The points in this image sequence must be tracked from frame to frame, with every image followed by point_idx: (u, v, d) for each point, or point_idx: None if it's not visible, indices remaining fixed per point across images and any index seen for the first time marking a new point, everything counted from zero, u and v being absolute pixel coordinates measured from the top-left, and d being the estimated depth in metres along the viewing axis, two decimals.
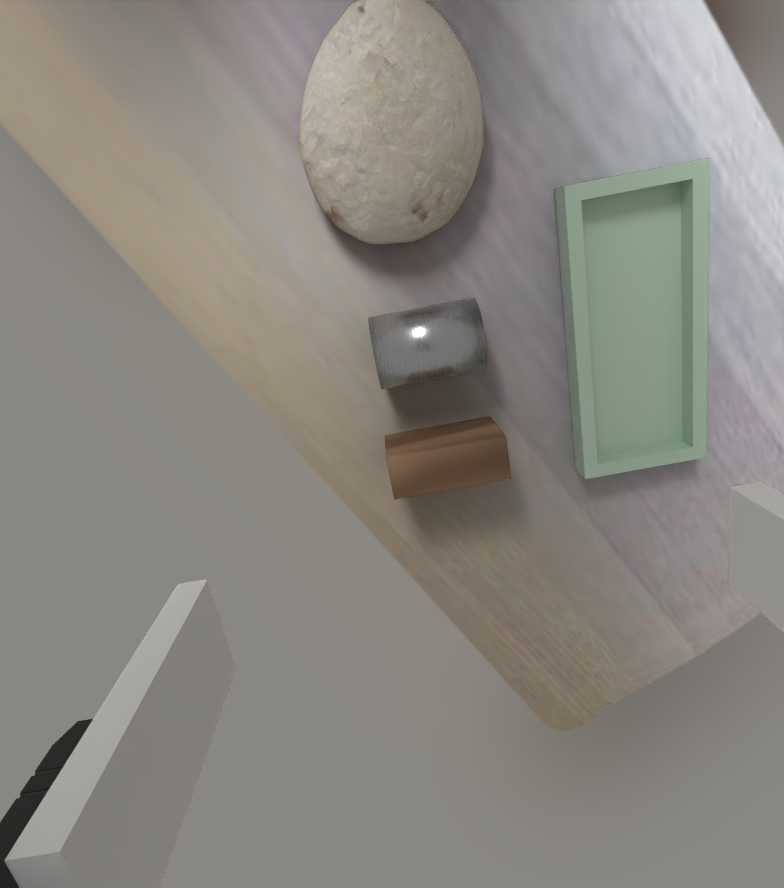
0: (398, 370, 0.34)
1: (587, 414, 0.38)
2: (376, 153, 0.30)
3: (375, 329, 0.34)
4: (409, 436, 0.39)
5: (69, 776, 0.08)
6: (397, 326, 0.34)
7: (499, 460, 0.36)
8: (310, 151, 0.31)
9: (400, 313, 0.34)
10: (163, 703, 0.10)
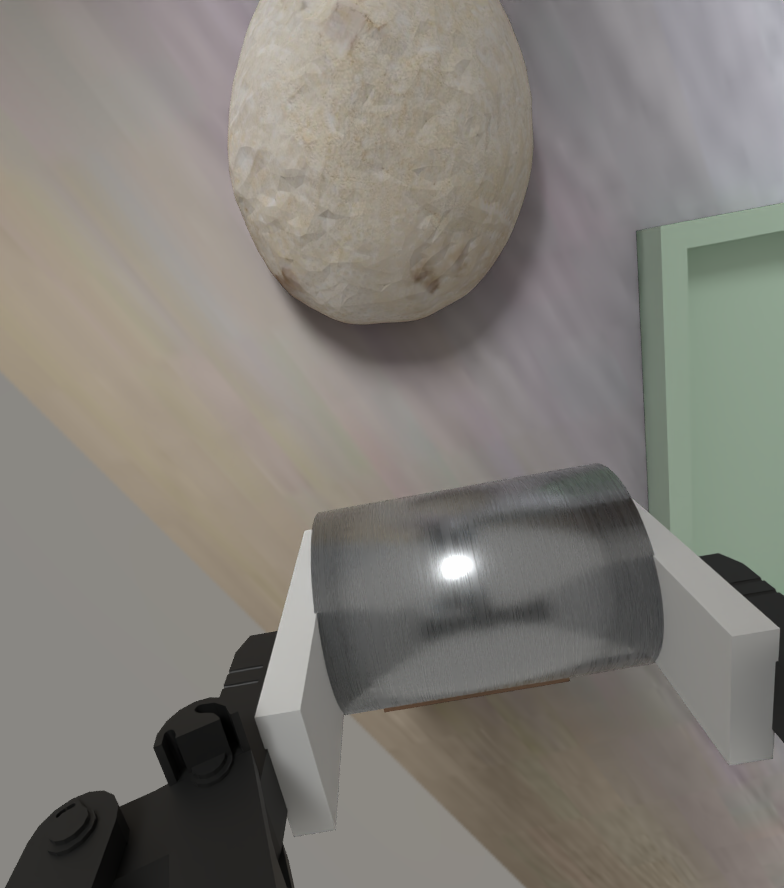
0: (396, 693, 0.11)
1: None
2: (351, 184, 0.17)
3: (328, 575, 0.11)
4: None
5: (280, 663, 0.10)
6: (393, 567, 0.11)
7: None
8: (243, 180, 0.18)
9: (403, 515, 0.12)
10: None
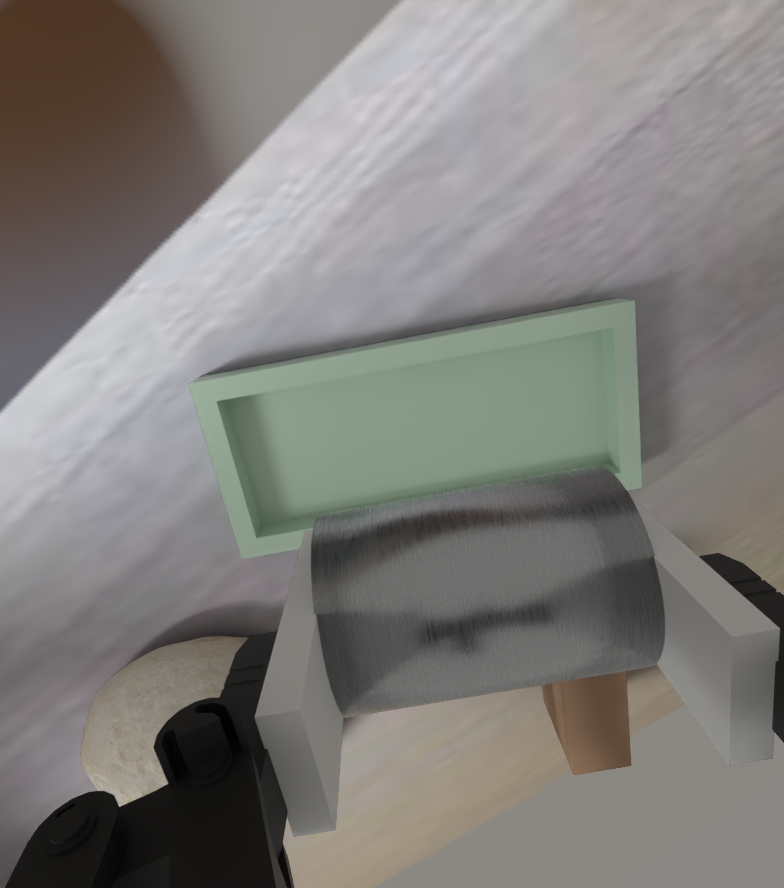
0: (396, 696, 0.11)
1: None
2: None
3: (328, 577, 0.11)
4: (548, 695, 0.31)
5: (280, 663, 0.10)
6: (394, 570, 0.11)
7: None
8: None
9: (403, 517, 0.12)
10: None
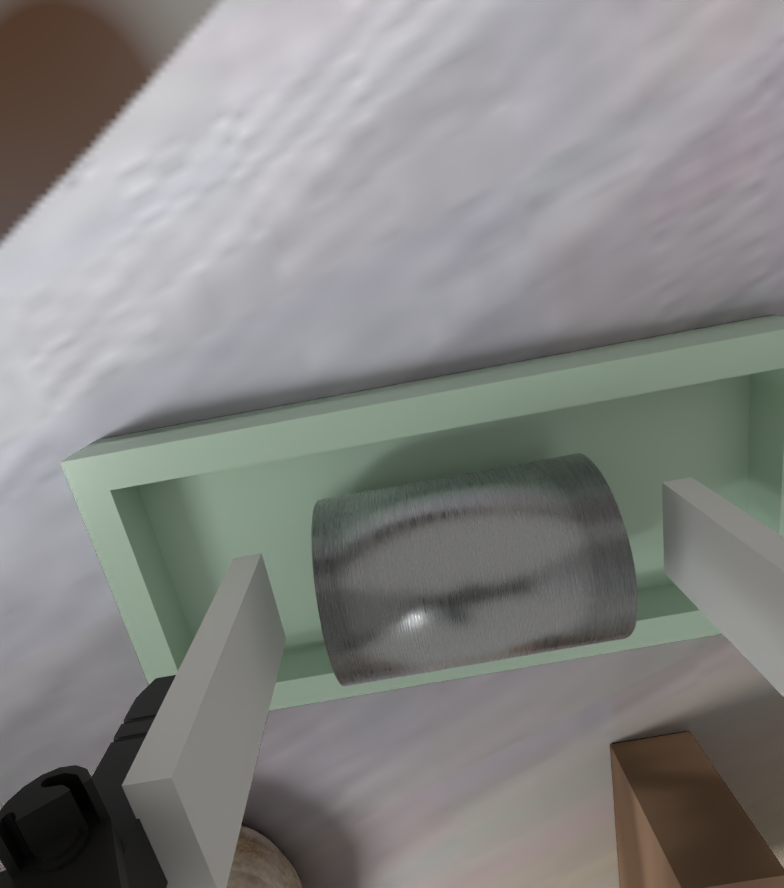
0: (391, 665, 0.12)
1: (644, 633, 0.16)
2: None
3: (327, 555, 0.12)
4: None
5: (166, 718, 0.09)
6: (388, 548, 0.12)
7: None
8: None
9: (397, 500, 0.13)
10: (235, 660, 0.11)
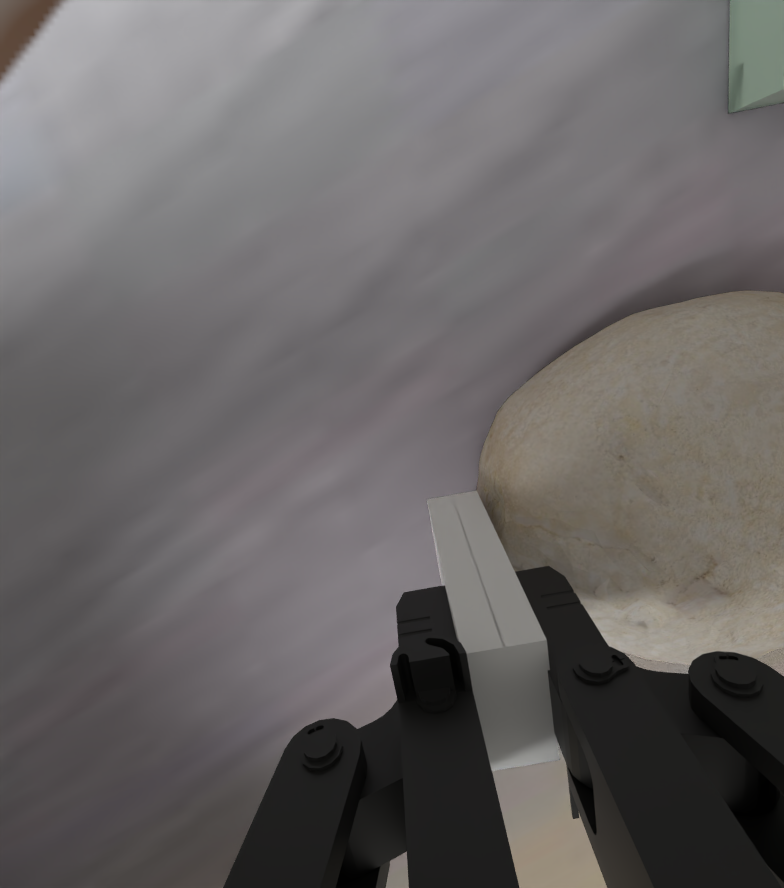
0: None
1: None
2: None
3: None
4: None
5: (464, 609, 0.10)
6: None
7: None
8: None
9: None
10: None
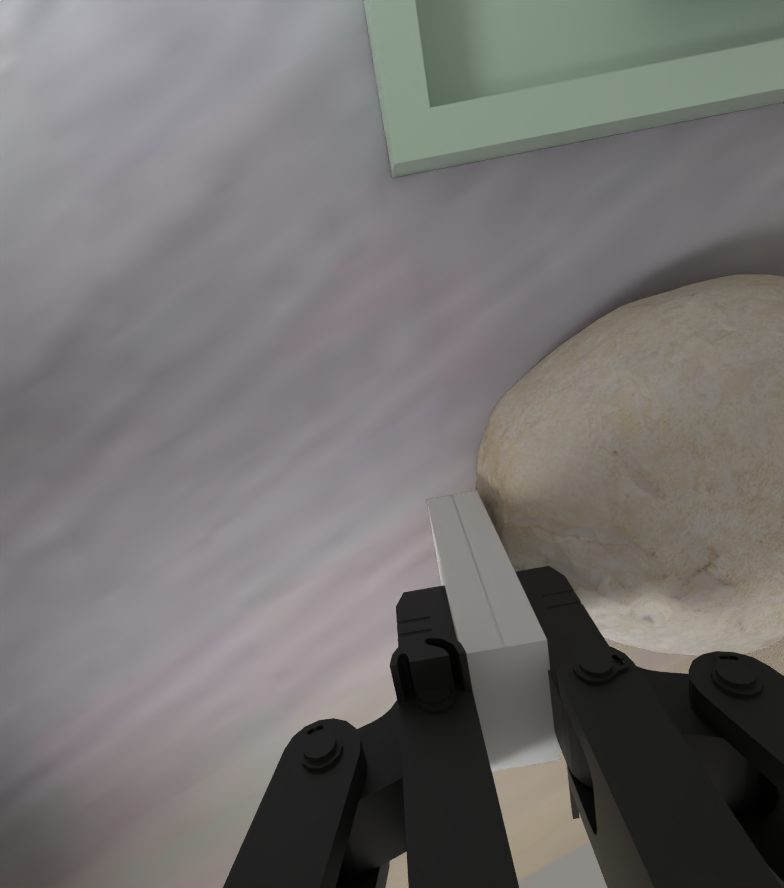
0: None
1: None
2: None
3: None
4: None
5: (464, 609, 0.10)
6: None
7: None
8: (765, 647, 0.15)
9: None
10: None
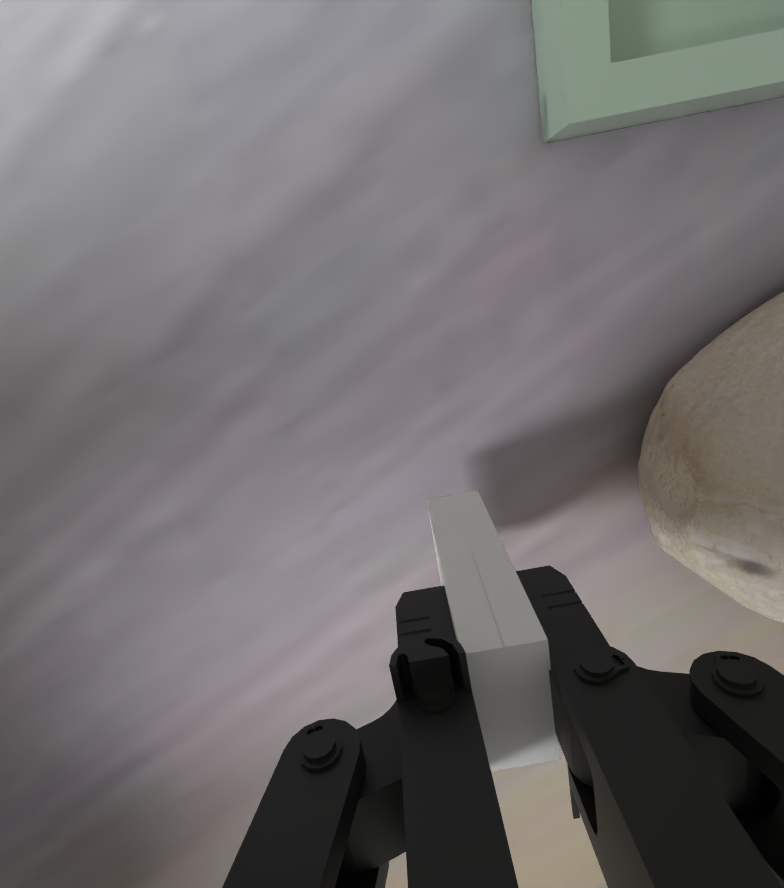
0: None
1: None
2: None
3: None
4: None
5: (463, 609, 0.10)
6: None
7: None
8: None
9: None
10: None
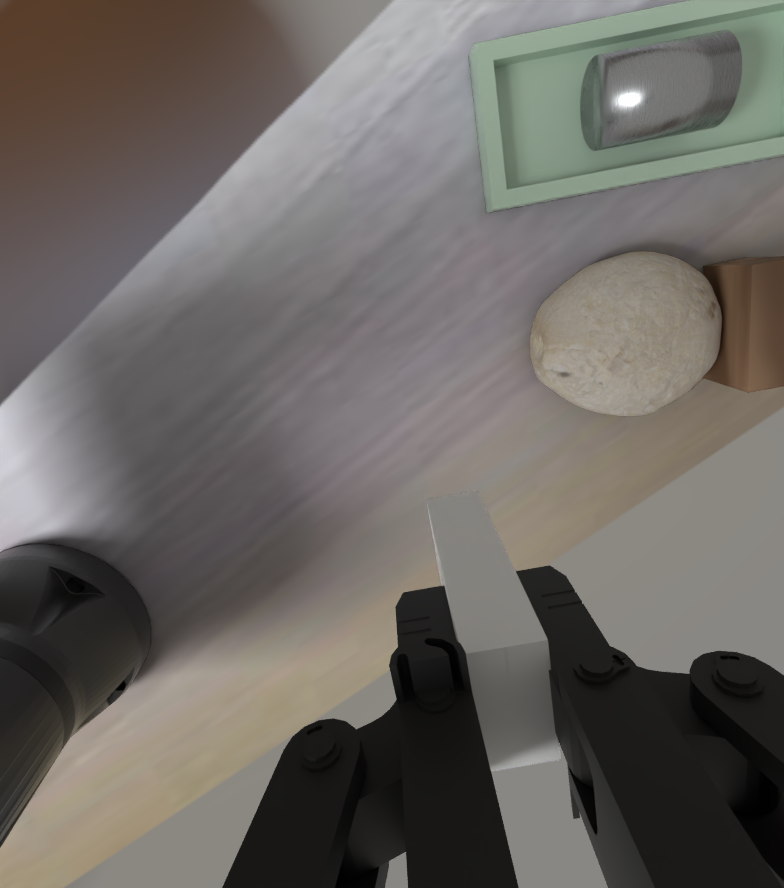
0: (636, 105, 0.29)
1: (731, 155, 0.33)
2: (677, 356, 0.34)
3: (611, 57, 0.29)
4: None
5: (463, 609, 0.10)
6: (637, 52, 0.29)
7: (777, 271, 0.32)
8: (653, 408, 0.37)
9: None
10: None
